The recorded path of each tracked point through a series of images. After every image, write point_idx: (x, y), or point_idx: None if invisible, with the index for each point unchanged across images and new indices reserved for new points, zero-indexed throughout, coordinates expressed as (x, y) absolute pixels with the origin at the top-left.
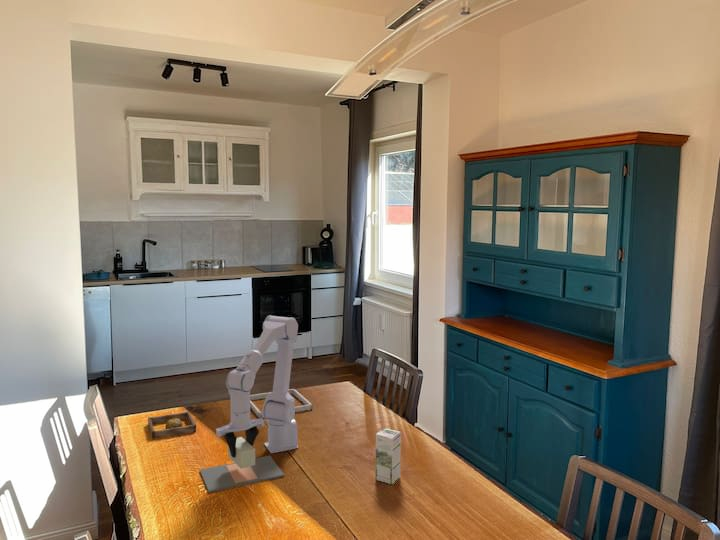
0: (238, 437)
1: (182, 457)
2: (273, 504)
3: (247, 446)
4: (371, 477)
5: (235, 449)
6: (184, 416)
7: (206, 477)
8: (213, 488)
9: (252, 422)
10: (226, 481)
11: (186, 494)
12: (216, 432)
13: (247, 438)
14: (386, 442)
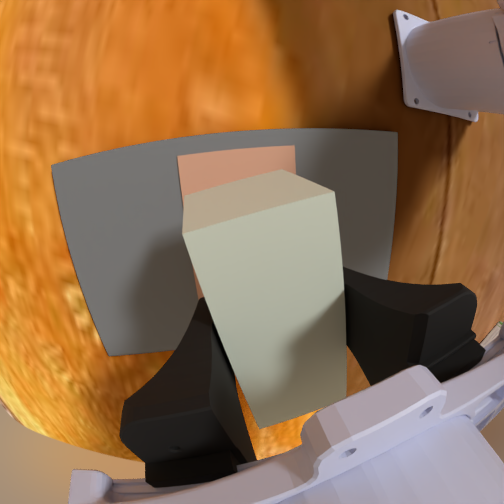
0: (305, 198)
1: (17, 15)
2: (291, 419)
3: (319, 376)
4: (482, 333)
5: (233, 378)
6: None
7: (83, 255)
8: (122, 346)
9: (476, 418)
10: (169, 312)
11: (42, 334)
12: (77, 500)
13: (362, 322)
14: None
